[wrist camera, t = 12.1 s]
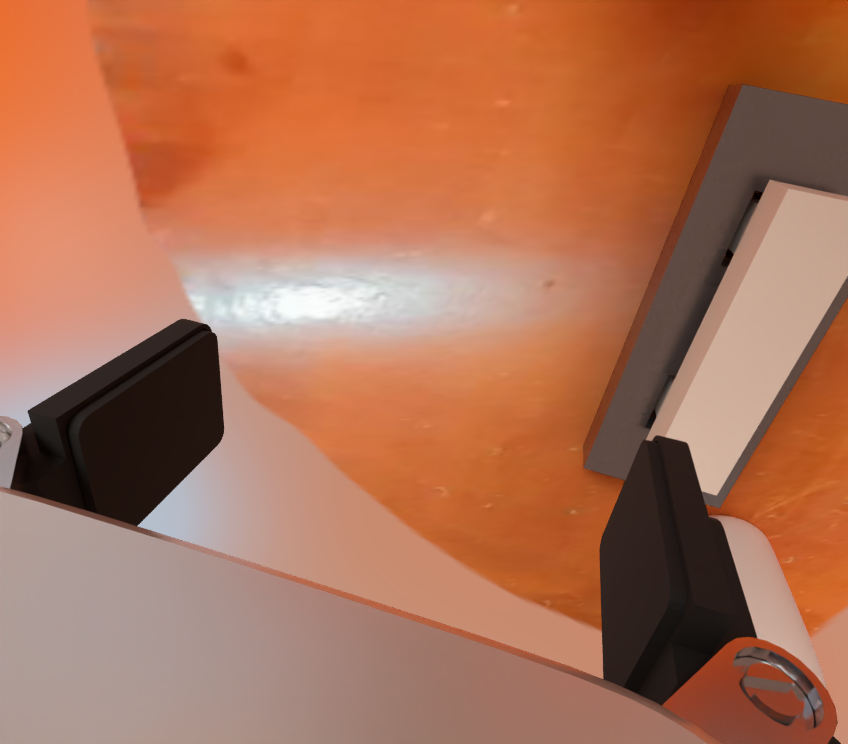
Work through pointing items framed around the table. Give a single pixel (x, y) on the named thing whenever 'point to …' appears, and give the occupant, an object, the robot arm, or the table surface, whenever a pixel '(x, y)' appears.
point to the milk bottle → (768, 592)
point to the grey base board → (717, 259)
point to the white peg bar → (755, 325)
